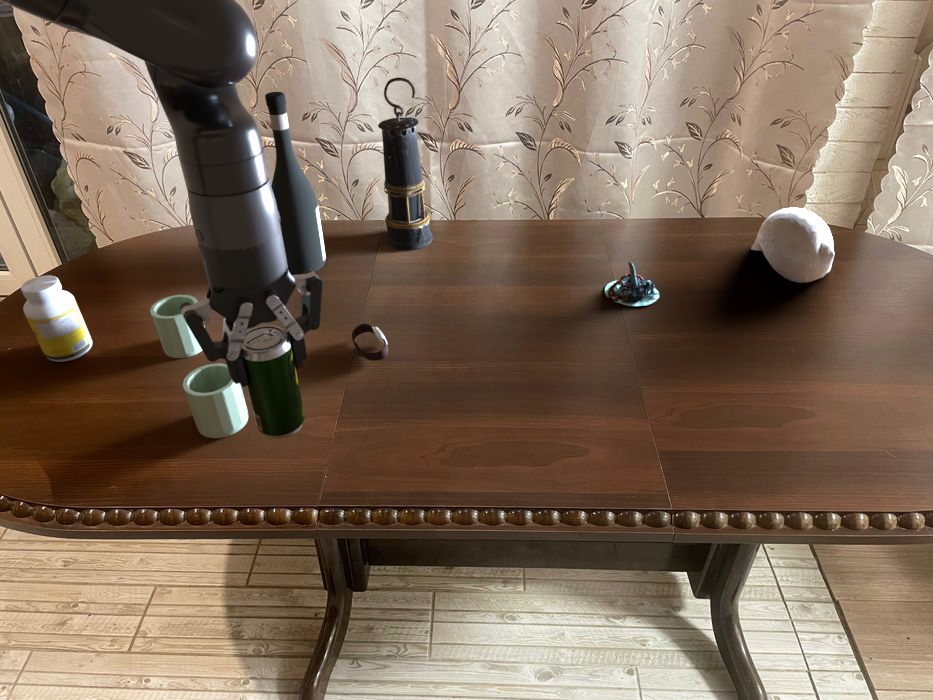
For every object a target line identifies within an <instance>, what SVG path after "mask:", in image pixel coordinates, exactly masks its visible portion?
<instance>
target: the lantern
mask: <svg viewBox="0 0 933 700" xmlns="http://www.w3.org/2000/svg"><path fill="white" fill-rule="evenodd" d="M395 82H404V83H407V84H408V85H409V86H410V88H411V91H412V93H411V94H412V96H411V98H412V99H416V88H415V86H414V84H413V83H412V82H411V81H410V80H409V79H407V78H405V77H393V78H391V79H389V80H388V81H387V82H386V83H385V86H384V89H383V97H384V100H385V101H386V103H387V104H388V105H389V106H391V107H393V114H394V115H395V116H396V117H391V118H387V119H383V120H382V121H381V122H379V123H378V124H377V127H378V129H380V130H381V137H382V149H383V150H382V152H383V167H384V183H383V186H384V187H383V191H384V193H385V194H387V204H388V206H387V208H388V213H387V214H386V216H385V218H384V223H385V226H386V235H385V242H386V244H387V245H388V246H389V247H390V248H393V249H395V250H402V251H414V250H415V251H416V250H420V249H424V248H427V247H428V246H429V245H431V244H432V242H433V238H434V237H433V233H432V231H431V226H430V219H431V216H430V214H429V213H428V212H427V211H426V209H425V200H424V199H425V198H424V193H423V192H424V191H425V189H426V185H425V183H426V182H425V179H424V176H423V169H422V164H421V158H420V150H419V143H418V136H417V135H418V134H417V126H418V125H419V123H420V121H419V120H418V119H417V118H415V117H408V116H407V117H403V116H404V114H405V110H404V108H403V107H402V106H400V105H399V104H396V103H393V102H392V101H391V100H390V99H389V97H388V94H387V93H388V89H389V88H388V87H389V86H390V84H392V83H395ZM397 109H399V110H400V111H397Z"/></svg>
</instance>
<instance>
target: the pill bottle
mask: <svg viewBox="0 0 933 700" xmlns="http://www.w3.org/2000/svg"><path fill="white" fill-rule="evenodd" d="M20 291H21V293H22V295H23V297H24V298H25V300H26V301H25V302H24V305H23V307H22V310H23V313H24V316H25V319H26V320H27V322H28V325H29V326H30V328H31V330H32V332H33V334H34V337H35V338H36V340H37V343H38V345H39V346H40V349H41V352H42V353H43V354H44V356H45V357H46V359H48V360H49V361H52V362H56V363H57V362H58V363H63V362H70V361H73V360H76V359H78V358H81V357H82V356H83V355H85V354H87V353H88V352H89V351H90V350H91V348H92V346H93V339H92V336H91V334H90V332H89V329H88V327H87V324H86V322H85V320H84V317H83V315H82V313H81V310H80V308H79V305H78V303H77V301H76V298H75V296H74V295H73V294H72V293H70V291H67V290H64V289H63V286H62V284H61V282H60V280H59V278H58V277H56V275H40V276H36V277H33V278H30V279H28V280H26V281H25V282H23V283H22V285H21V287H20Z"/></svg>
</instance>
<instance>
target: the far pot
mask: <svg viewBox="0 0 933 700" xmlns="http://www.w3.org/2000/svg"><path fill="white" fill-rule="evenodd" d="M185 302H188V303H191V304H194V303H197V302H198V300H197V298H196V297H194V296H192V295H188V294H173V295H170V296H166V297H163V298H161V299H159V300H157V301H156V302H154V303H153V304H152V305H151V307H150V310H149V313H150V316H151V319H152V322H153V324H154V328H155V330H156V333H157V336H158V339H159V341H160V345H161V348H162V350H163V353H164V354H165V355H166V356H167V357H169V358H173V359H185V358H186V359H187V358H189V357H193V356H196V355H198V354H200V353H201V352H203V350H202V349H201V347H200V345H199V344H198V342H197V340H196V338H195V337H194V335H193V333H192V332H191V330H190V328H189V326H188V325H187V323H186V321H185V319H184V317H183V315H182V313H181V311H180V305H181V304H183V303H185ZM204 327H205V328H206V325H204Z"/></svg>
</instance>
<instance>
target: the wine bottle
mask: <svg viewBox="0 0 933 700" xmlns="http://www.w3.org/2000/svg"><path fill="white" fill-rule="evenodd" d="M264 98H265V104H266V107H267V109H268V114H269V119H270V124H271V125H270V126H271V131H272V136H273V142H274V147H275V166H274V172H273V177H272V180H271V187H272V190H273V193H274V196H275V200H276V204H277V209H278V212H279V214H280V219H281V221H280V226H281V232H282V237H283V243H284V248H285V254H286V260H287V265H288V270H289V272H290V273H291V274H292V275H299V274H303V272H304V271H305V270H307V269H311V270H312V271H313V272H314V273H315V272H317V271H319V270H320V269H321V268H323V267H324V266H325V264H326V261H327V256H326V250H325V249H326V248H325V242H324V235H323V229H322V222H321V216H320V209H319V204H318V200H317V196H316V193H315V191H314V189H313V187H312V184H311V183H310V181H309V179H308V178H307V175H306V174H305V173H304V171H303V169H302V168H301V165H300V164H299V162H298V159H297V157H296V155H295V151H294V148H293V144H292V143H293V142H292V138H291V137H292V136H291V131H290V126H289V119H288V112H287V100H286V93H285V92H283V91H271V92H270V91H269V92H267V93H265V95H264Z"/></svg>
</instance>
